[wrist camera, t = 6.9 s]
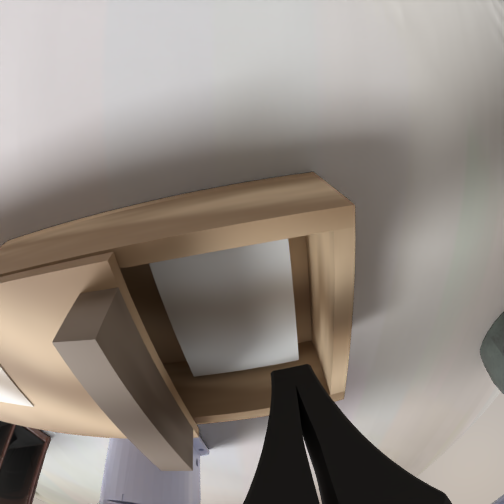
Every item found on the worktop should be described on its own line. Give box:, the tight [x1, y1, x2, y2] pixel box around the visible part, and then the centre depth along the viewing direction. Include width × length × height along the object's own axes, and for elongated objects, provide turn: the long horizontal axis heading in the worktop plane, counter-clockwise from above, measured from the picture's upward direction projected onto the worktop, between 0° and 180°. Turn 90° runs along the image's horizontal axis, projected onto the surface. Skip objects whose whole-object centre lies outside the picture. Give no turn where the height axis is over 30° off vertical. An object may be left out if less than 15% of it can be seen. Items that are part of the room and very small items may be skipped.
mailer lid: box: [0, 252, 199, 471], centre depth 10 cm, size 11×18×3 cm, turn 99°
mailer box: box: [0, 172, 355, 424], centre depth 14 cm, size 11×18×5 cm, turn 99°
